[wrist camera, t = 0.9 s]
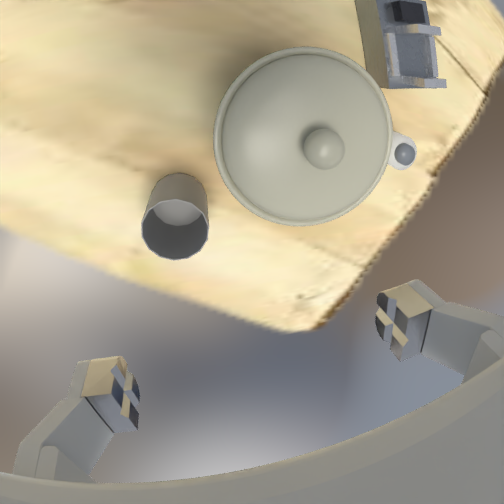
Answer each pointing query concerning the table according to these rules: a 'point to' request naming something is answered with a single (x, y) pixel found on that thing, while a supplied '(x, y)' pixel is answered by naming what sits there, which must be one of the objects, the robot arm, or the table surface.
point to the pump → (402, 151)
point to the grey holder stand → (399, 43)
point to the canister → (302, 136)
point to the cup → (176, 217)
